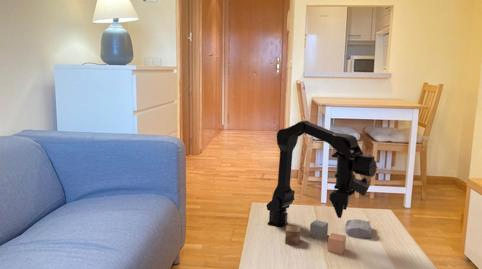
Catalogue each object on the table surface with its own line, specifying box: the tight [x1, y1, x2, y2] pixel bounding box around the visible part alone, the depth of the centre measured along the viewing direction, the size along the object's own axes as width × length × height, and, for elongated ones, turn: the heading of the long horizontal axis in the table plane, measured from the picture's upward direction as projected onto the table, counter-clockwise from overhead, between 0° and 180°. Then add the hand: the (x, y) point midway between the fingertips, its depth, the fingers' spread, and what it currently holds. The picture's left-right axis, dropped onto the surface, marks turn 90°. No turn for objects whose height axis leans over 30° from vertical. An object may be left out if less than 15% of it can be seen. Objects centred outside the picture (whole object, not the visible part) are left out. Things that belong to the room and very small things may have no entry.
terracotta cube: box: [327, 232, 347, 255], centre depth 144 cm, size 5×5×5 cm
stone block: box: [344, 218, 372, 240], centre depth 161 cm, size 12×5×10 cm
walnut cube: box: [284, 225, 301, 246], centre depth 150 cm, size 5×5×5 cm
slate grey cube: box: [309, 219, 329, 240], centre depth 156 cm, size 5×5×5 cm
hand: (342, 213), depth 146 cm, fingers open, 9 cm apart
